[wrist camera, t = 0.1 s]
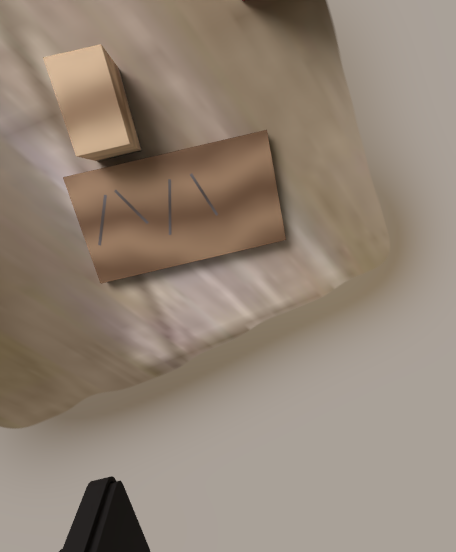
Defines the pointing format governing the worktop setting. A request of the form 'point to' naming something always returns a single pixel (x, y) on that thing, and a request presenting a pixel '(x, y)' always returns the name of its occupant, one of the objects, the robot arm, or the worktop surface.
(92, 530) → the robot arm
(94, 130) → the block
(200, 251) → the board
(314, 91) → the worktop surface
